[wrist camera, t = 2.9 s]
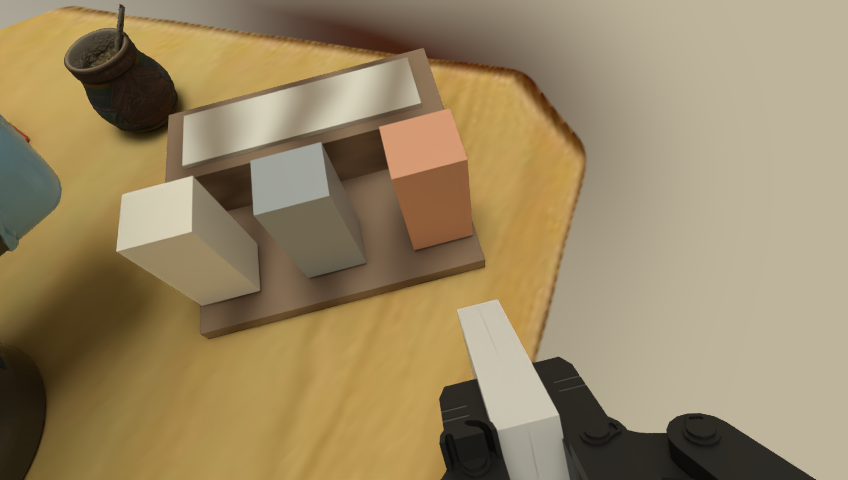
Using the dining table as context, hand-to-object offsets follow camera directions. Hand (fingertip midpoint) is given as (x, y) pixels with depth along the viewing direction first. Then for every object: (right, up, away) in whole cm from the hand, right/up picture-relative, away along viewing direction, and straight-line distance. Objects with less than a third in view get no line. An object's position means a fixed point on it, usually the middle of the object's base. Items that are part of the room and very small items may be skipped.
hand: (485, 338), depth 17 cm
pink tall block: (-1, +5, +18) cm, 19 cm away
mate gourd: (-29, +16, +30) cm, 45 cm away
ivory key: (-17, +1, +18) cm, 25 cm away
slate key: (-9, +3, +18) cm, 21 cm away
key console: (-10, +6, +22) cm, 25 cm away
